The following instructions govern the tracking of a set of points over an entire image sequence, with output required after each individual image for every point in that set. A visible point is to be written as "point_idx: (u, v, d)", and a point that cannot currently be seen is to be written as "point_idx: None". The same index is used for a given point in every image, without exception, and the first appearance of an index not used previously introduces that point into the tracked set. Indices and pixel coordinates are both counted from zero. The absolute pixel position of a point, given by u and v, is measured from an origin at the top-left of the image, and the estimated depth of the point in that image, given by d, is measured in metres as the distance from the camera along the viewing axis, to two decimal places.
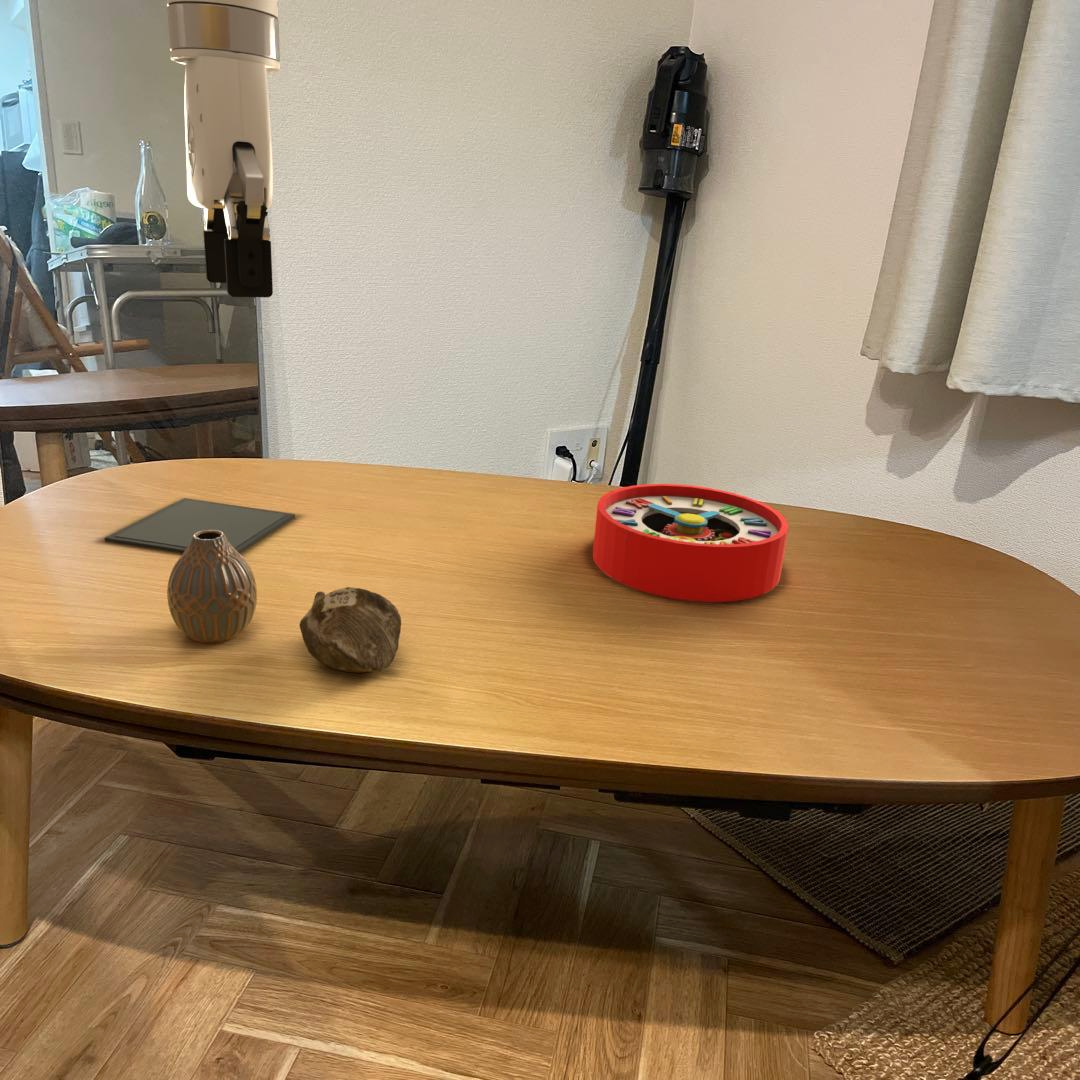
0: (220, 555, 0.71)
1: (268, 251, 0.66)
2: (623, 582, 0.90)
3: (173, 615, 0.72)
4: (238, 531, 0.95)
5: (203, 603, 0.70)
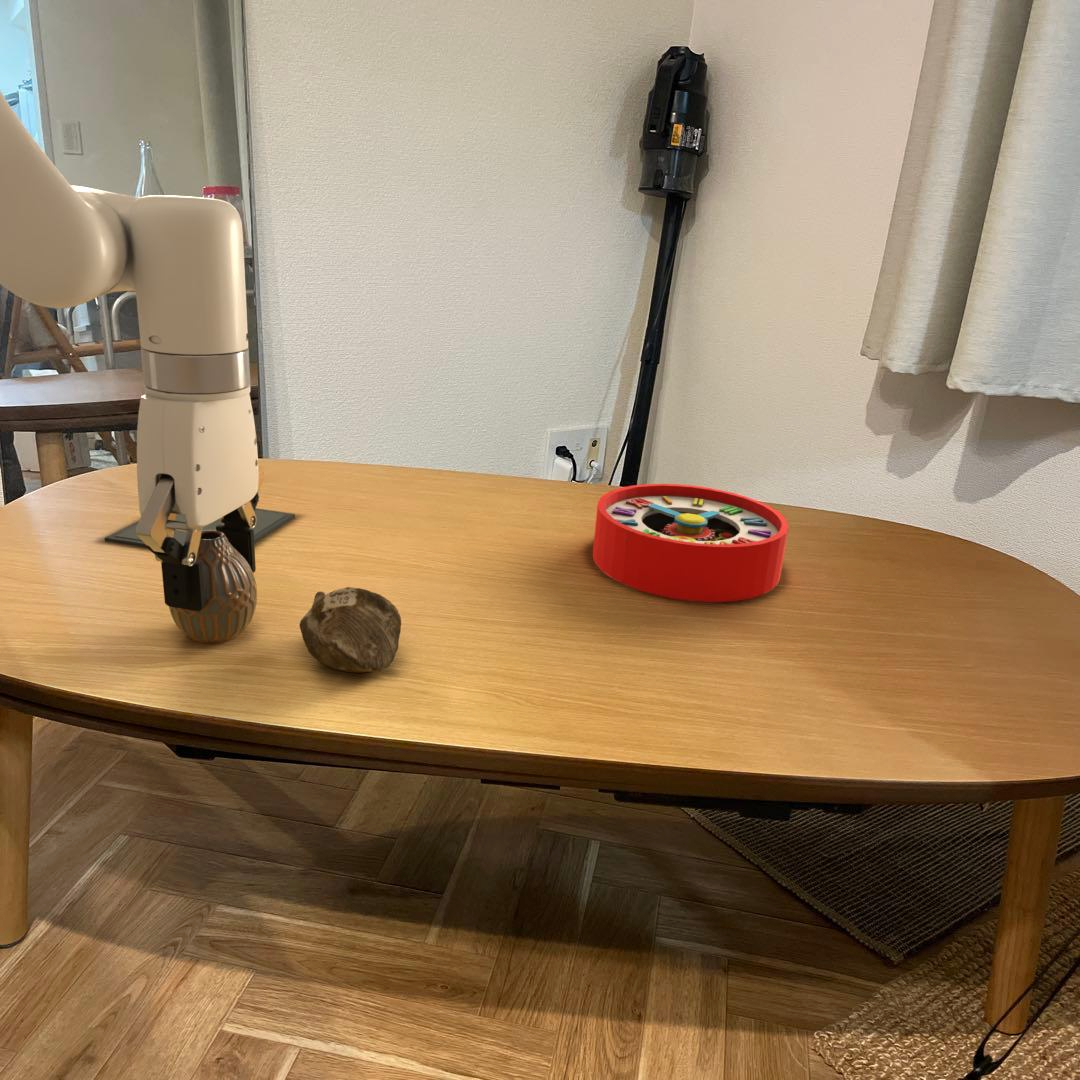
0: (220, 555, 0.71)
1: (197, 572, 0.68)
2: (623, 582, 0.90)
3: (173, 615, 0.72)
4: None
5: None
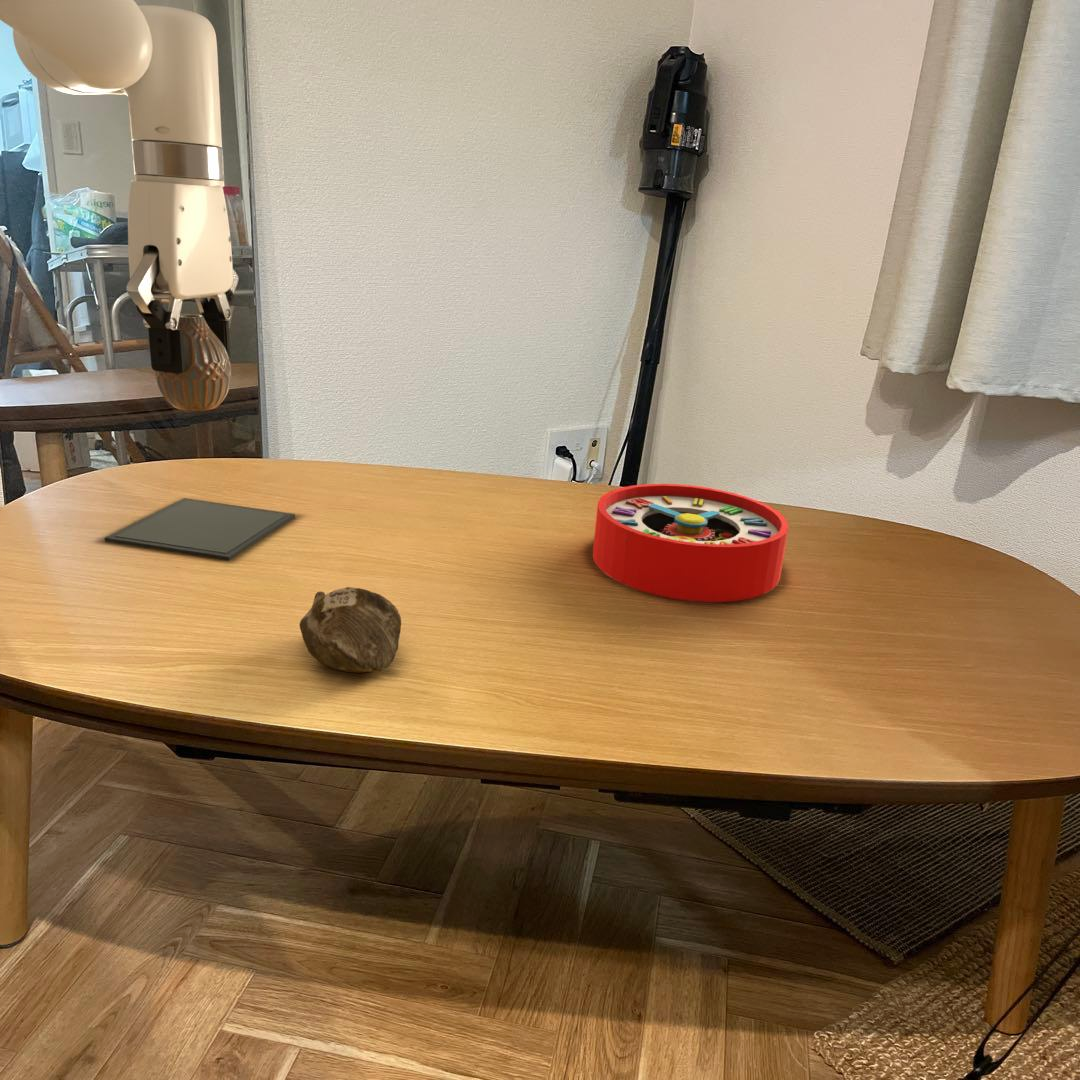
0: (199, 331, 0.84)
1: (178, 337, 0.82)
2: (623, 582, 0.90)
3: (159, 383, 0.85)
4: (238, 531, 0.95)
5: None
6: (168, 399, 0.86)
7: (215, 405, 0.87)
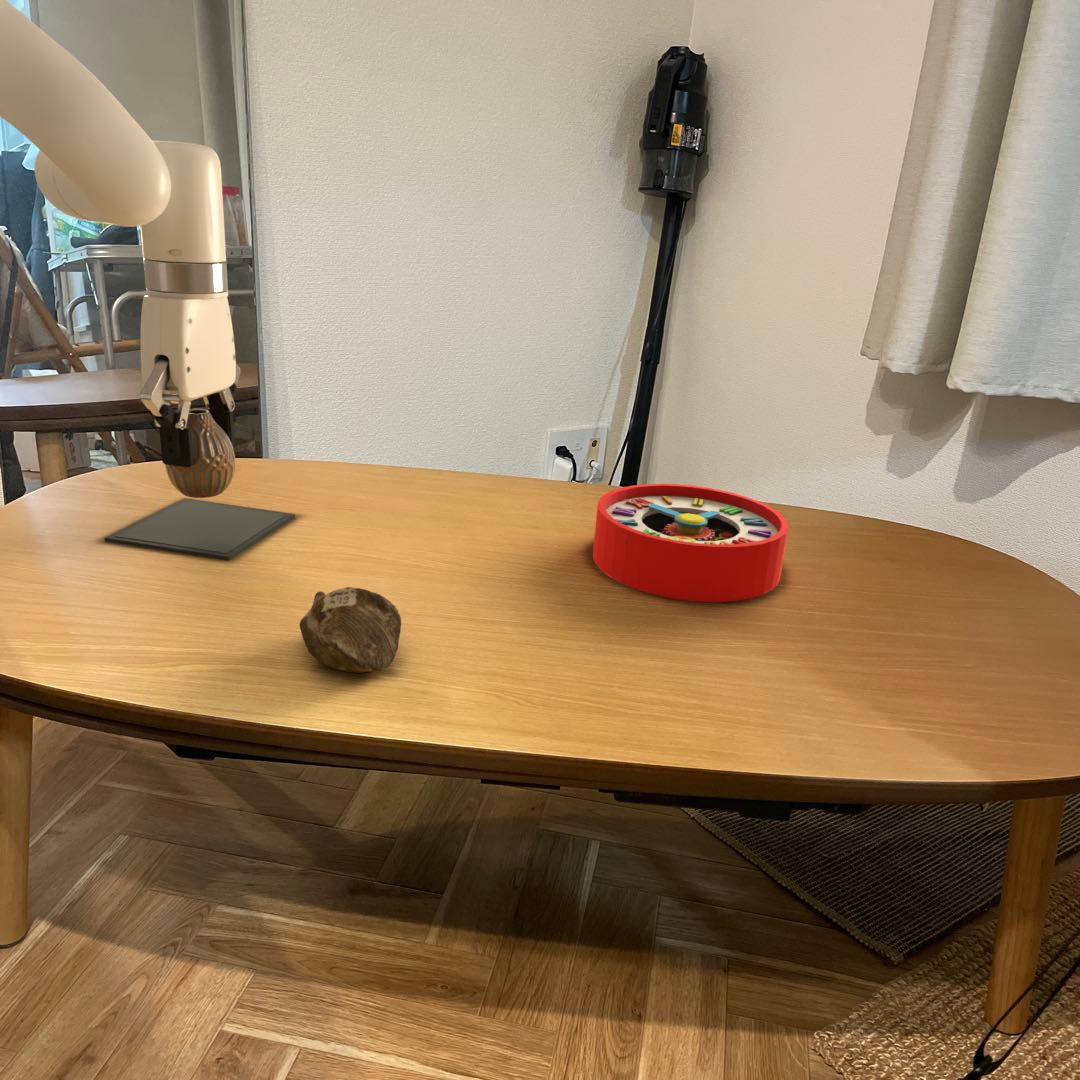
0: (205, 426, 0.92)
1: (187, 435, 0.89)
2: (623, 582, 0.90)
3: (169, 474, 0.92)
4: (238, 531, 0.95)
5: None
6: (177, 488, 0.93)
7: (221, 492, 0.94)
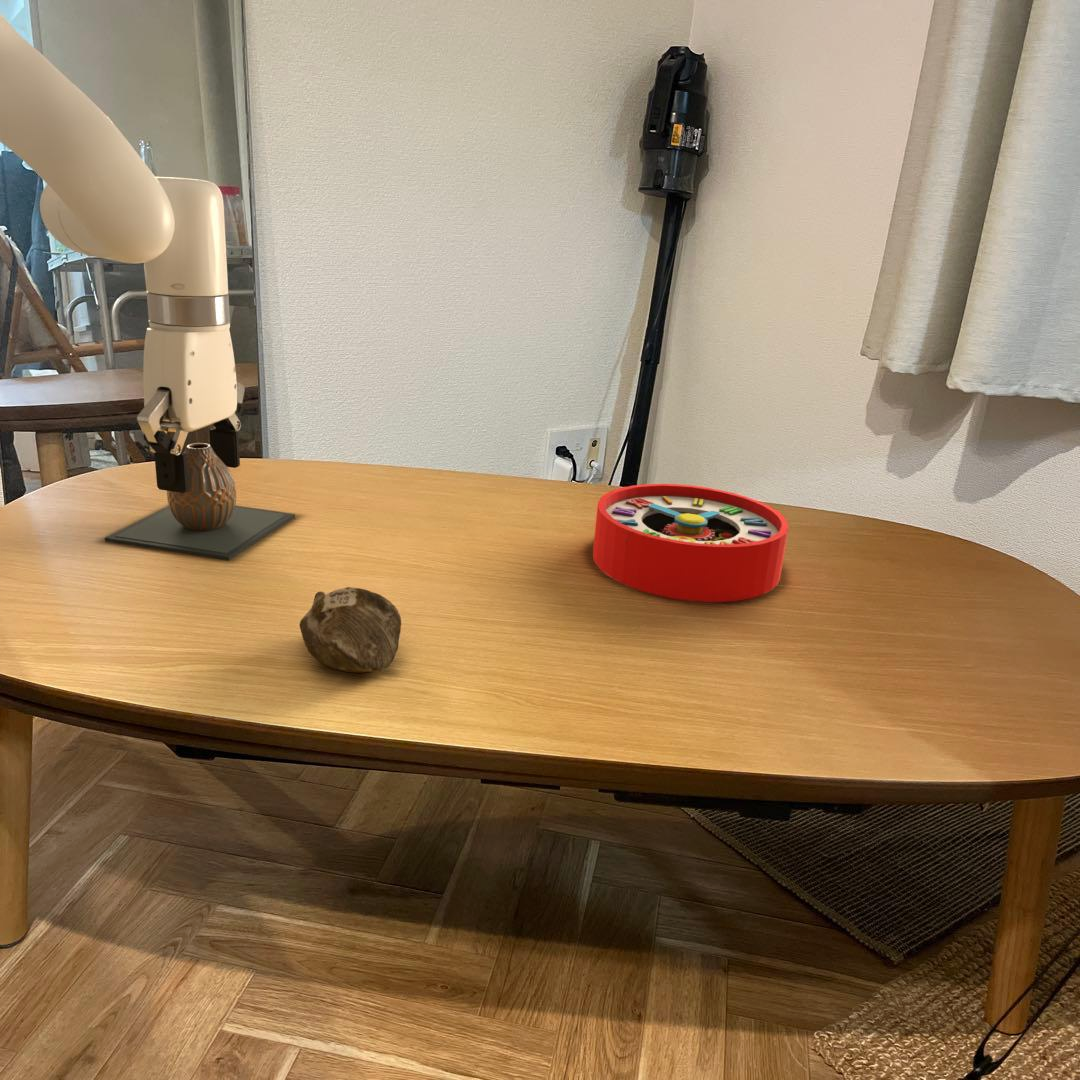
0: (207, 461, 0.93)
1: (182, 461, 0.89)
2: (623, 582, 0.90)
3: (171, 507, 0.93)
4: (238, 531, 0.95)
5: (194, 497, 0.92)
6: (179, 521, 0.94)
7: (222, 524, 0.96)
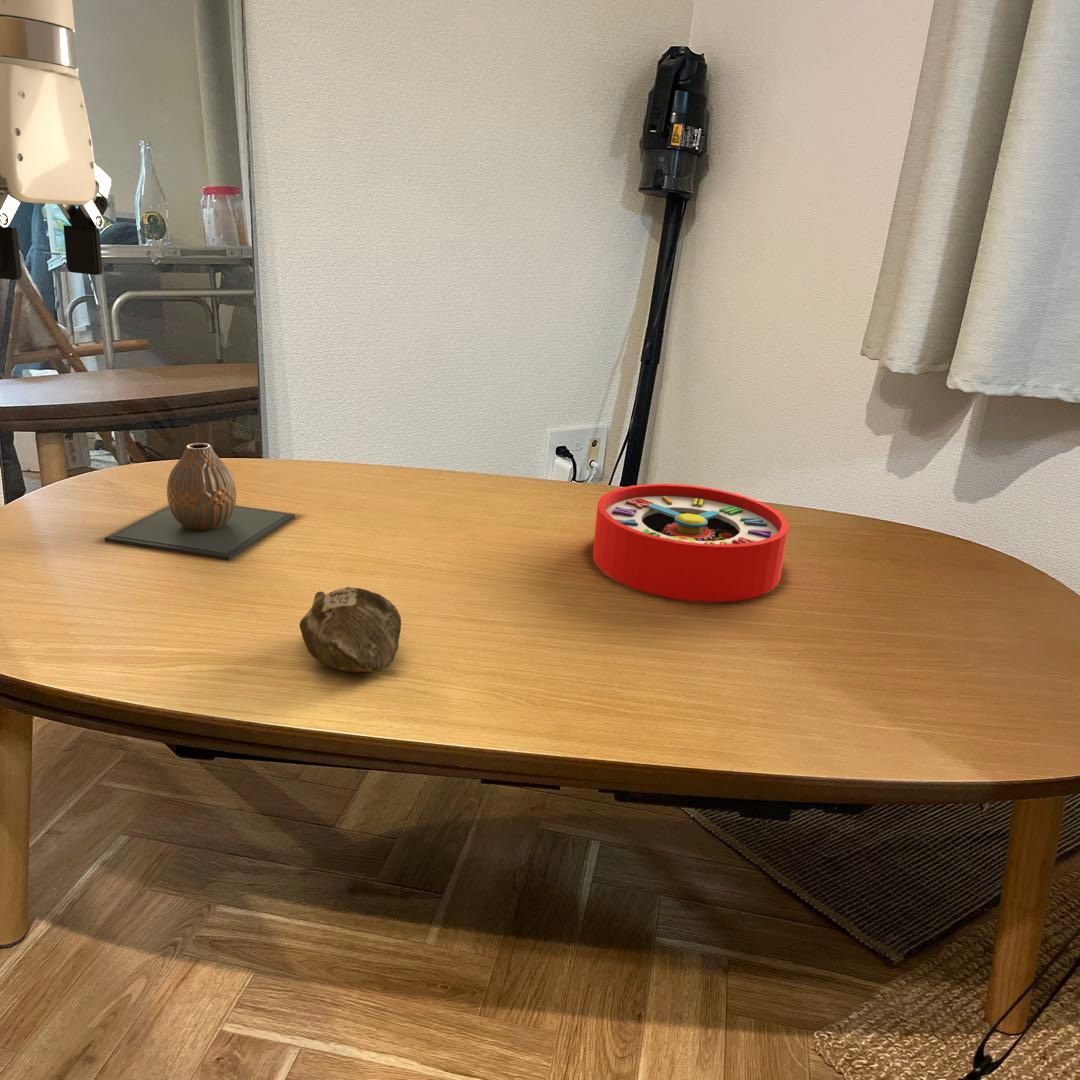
0: (207, 461, 0.93)
1: (10, 237, 0.71)
2: (623, 582, 0.90)
3: (171, 507, 0.93)
4: (238, 531, 0.95)
5: (194, 497, 0.92)
6: (179, 521, 0.94)
7: (222, 524, 0.96)
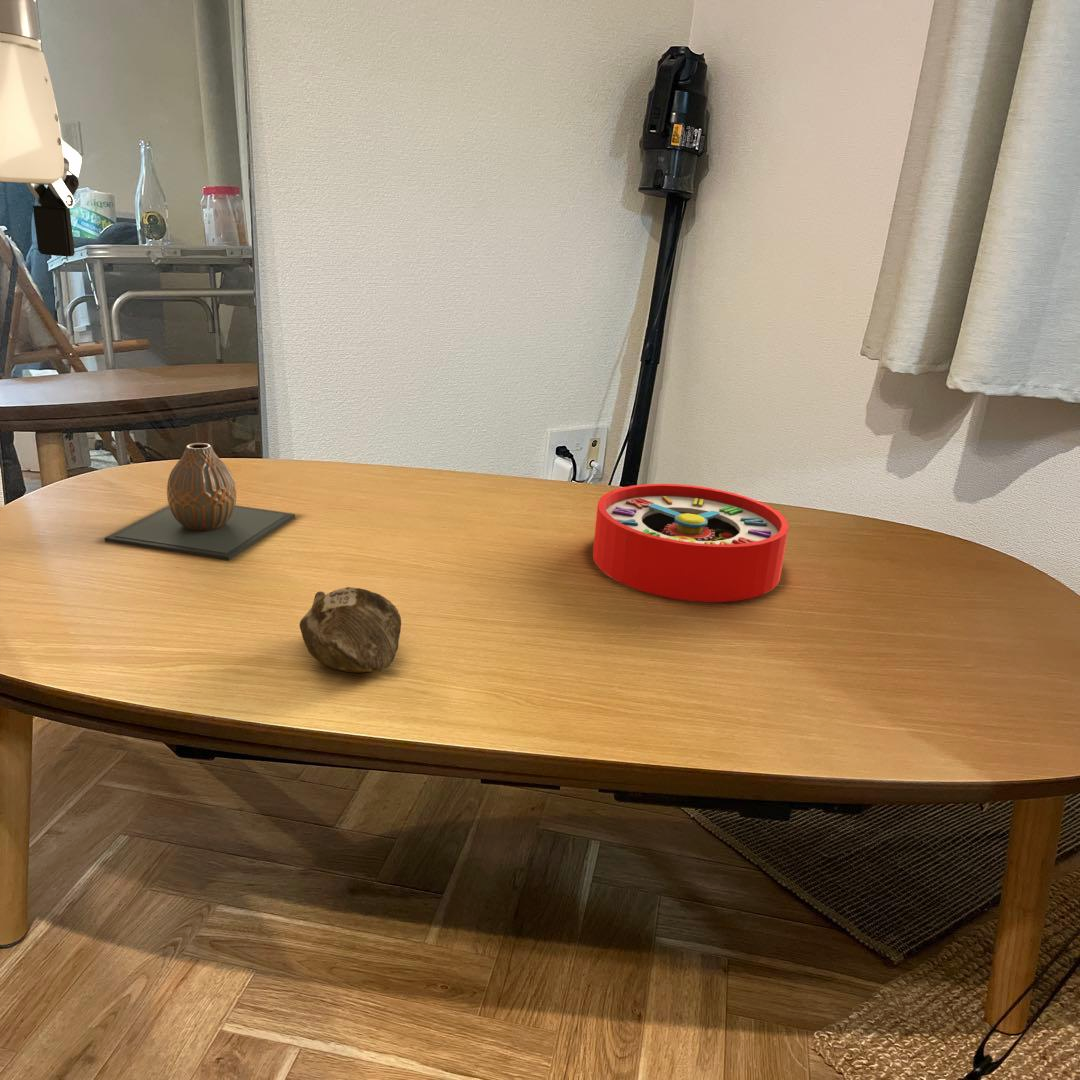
0: (207, 461, 0.93)
1: None
2: (623, 582, 0.90)
3: (171, 507, 0.93)
4: (238, 531, 0.95)
5: (194, 497, 0.92)
6: (179, 521, 0.94)
7: (222, 524, 0.96)
